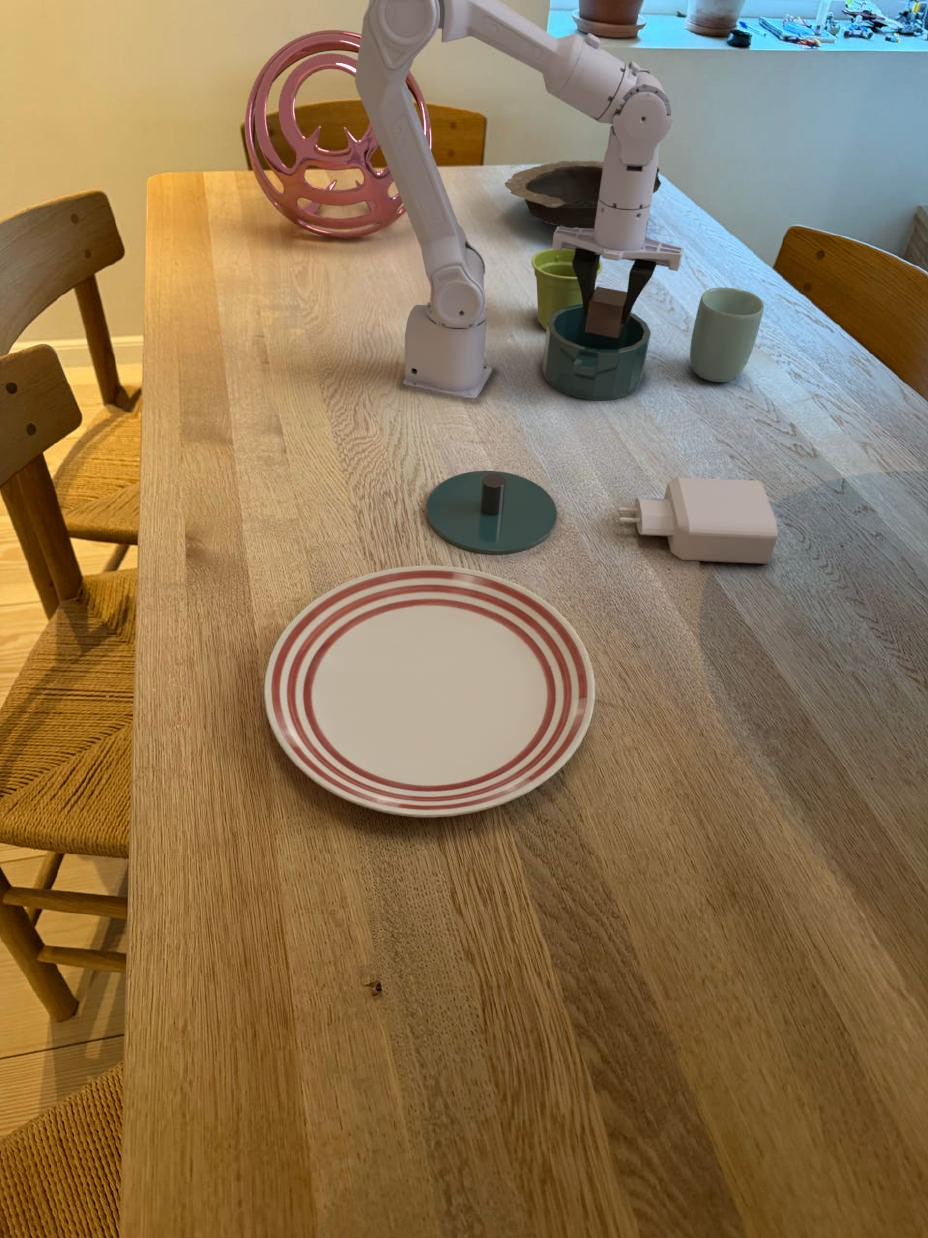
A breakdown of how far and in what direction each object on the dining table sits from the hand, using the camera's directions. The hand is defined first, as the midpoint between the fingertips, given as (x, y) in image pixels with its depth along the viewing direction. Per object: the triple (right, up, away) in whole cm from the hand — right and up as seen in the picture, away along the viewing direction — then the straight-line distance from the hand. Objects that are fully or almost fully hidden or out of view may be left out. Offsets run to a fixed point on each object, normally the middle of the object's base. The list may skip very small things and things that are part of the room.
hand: (606, 316), depth 114 cm
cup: (+15, -4, +10) cm, 19 cm away
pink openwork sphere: (-37, +26, +38) cm, 59 cm away
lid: (-14, -25, -14) cm, 32 cm away
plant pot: (-4, +5, +18) cm, 19 cm away
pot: (-1, -5, +9) cm, 10 cm away
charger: (+6, -28, -14) cm, 32 cm away
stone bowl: (+2, +29, +44) cm, 52 cm away
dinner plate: (-20, -43, -32) cm, 57 cm away
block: (0, -1, +1) cm, 1 cm away
